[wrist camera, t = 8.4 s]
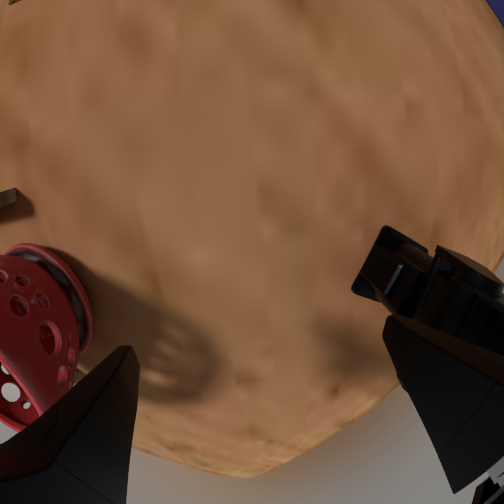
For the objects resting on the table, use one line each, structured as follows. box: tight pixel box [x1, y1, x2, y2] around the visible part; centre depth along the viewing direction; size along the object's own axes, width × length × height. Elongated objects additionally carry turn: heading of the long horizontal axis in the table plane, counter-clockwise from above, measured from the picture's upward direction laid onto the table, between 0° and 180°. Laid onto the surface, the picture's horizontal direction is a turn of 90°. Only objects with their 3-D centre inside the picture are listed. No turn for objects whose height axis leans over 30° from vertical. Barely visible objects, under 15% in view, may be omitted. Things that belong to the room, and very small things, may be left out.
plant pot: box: [0, 243, 93, 432], centre depth 14 cm, size 13×13×12 cm
